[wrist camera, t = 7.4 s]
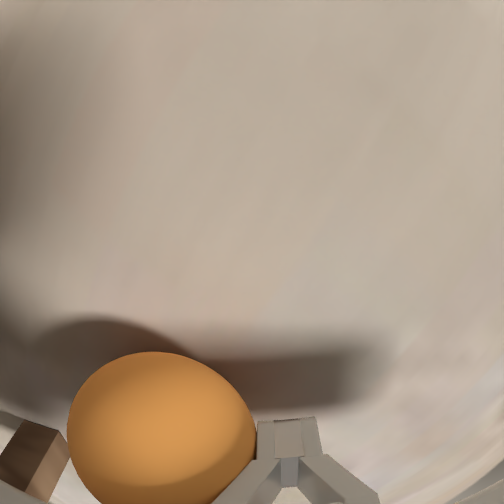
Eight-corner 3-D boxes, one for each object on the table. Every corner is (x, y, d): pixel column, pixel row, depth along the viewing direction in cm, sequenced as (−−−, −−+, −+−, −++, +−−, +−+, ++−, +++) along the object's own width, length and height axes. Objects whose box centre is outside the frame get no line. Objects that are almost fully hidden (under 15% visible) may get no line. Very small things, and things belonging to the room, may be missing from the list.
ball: (116, 299, 10) (-5, 405, 5) (284, 334, 9) (206, 530, 3) (147, 407, 13) (79, 501, 7) (273, 443, 11) (227, 567, 6)
